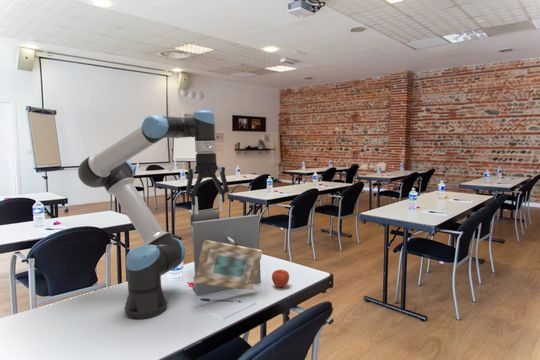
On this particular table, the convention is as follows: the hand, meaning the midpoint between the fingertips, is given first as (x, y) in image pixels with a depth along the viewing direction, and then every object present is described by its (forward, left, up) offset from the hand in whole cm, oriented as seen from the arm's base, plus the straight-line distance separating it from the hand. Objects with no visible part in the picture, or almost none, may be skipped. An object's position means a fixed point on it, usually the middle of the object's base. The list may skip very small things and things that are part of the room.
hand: (208, 212), depth 139 cm
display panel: (+10, +10, -35) cm, 38 cm away
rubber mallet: (+6, +31, -36) cm, 47 cm away
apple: (+30, +1, -36) cm, 46 cm away
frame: (+5, 0, -30) cm, 30 cm away
